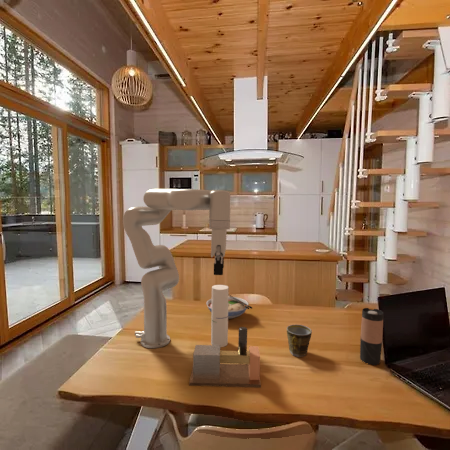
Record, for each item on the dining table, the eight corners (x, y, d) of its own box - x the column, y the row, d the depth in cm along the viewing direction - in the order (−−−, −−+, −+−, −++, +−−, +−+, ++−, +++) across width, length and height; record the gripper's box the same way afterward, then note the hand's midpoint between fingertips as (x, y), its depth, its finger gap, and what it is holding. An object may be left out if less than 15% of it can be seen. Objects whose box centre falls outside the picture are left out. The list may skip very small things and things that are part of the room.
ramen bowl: (199, 311, 166) (199, 297, 166) (235, 305, 176) (235, 292, 175) (216, 329, 144) (217, 313, 143) (257, 321, 153) (258, 306, 153)
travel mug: (372, 367, 113) (375, 316, 111) (355, 357, 120) (357, 309, 118) (385, 362, 116) (388, 313, 115) (367, 353, 123) (370, 306, 121)
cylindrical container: (225, 348, 126) (226, 290, 124) (209, 346, 127) (210, 288, 125) (228, 340, 133) (229, 285, 131) (213, 338, 134) (214, 284, 132)
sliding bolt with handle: (211, 363, 104) (211, 329, 103) (212, 358, 107) (212, 326, 106) (255, 364, 104) (256, 330, 103) (255, 359, 107) (256, 327, 106)
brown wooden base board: (189, 385, 100) (189, 358, 100) (193, 365, 112) (193, 341, 112) (260, 387, 100) (261, 360, 99) (257, 367, 112) (258, 343, 111)
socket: (249, 379, 102) (250, 356, 102) (248, 368, 109) (249, 346, 109) (259, 380, 102) (260, 356, 102) (257, 368, 109) (258, 346, 109)
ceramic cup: (290, 344, 130) (291, 322, 129) (313, 351, 125) (314, 327, 124) (279, 358, 118) (280, 334, 118) (305, 365, 113) (306, 340, 113)
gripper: (210, 222, 116) (210, 266, 118) (207, 226, 99) (206, 277, 100) (230, 223, 116) (229, 266, 118) (229, 227, 99) (228, 277, 100)
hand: (218, 271), depth 109 cm, fingers open, 9 cm apart
